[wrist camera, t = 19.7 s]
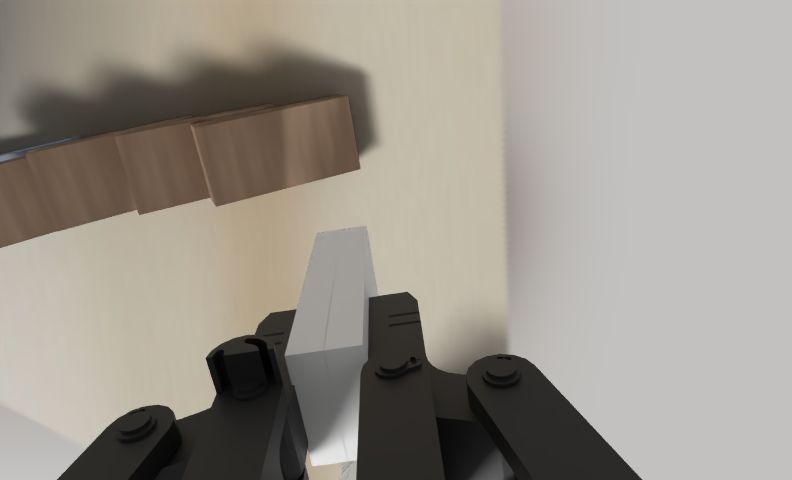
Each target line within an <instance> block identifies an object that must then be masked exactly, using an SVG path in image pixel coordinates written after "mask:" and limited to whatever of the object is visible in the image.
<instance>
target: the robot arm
mask: <svg viewBox="0 0 792 480" xmlns="http://www.w3.org/2000/svg"><path fill="white" fill-rule="evenodd" d="M206 361H207V364H208V367H209V370H210V374H211V377H212V380H213V383H214V386H215V389H216V393H217V394H216V397H215V399H214V402H213V404H212V407H211V408H209V409H207V410H204V411H202V412H199V413H196V414H194V415H191V416H188V417H185V418H182V419H179V420H176V418H175V415H174V412H173V411H172V410H171V409H170V408H169V407H167V406H161V405H152V406H145V407H141V408H139V409H135V410H132V411H130V412H128V413H127V414H125V415H123V416H121V417H119V418H118V419H117V420H115V421H114V422H113V423H112V424H111V425H109V426H108V427H107V428H106V429H105V430H104V431H103V432H102V433H101V434H100V435H99V436H98V437H97V438H96V439H95V441H94V442H93V443H92V444H91V445H90V446H89V447H88V448H87V449H86V450H85V451H84V452H83V453H82V454H81V455H80V456H79V457H78V458H77V459H76V460H75V461H74V463H73V464H72V465H71V466H70V467H69V468H68V469H67V470H66V471H65V472H64V473H63V474H62V475H61V476H60V477H59V478H58V479H57V480H309V477H308V473H307V469H306V465H305V462H306V455H307V448H308V451H309V455H310V459H311V463H312V466H319V465H326V464H333V463H340V462H348V461H355V460H357V471H356V480H642V479H641V478H640V477H639V476H638V475H637V474H636V473H635V472H634V471H633V470H632V469H631V467H630V466H629V465H628V464H627V463H626V462H625V461H624V460H623V459H622V458H621V457H620V456H619V455H618V454H617V452H616V451H615V450H614V449H613V448H612V447H611V446H610V445H609V444H608V443H607V442H606V441H605V440H604V439H603V438H602V436H601V435H600V434H599V433H598V432H597V431H596V430H595V429H594V428H593V427H592V426H591V425H590V424H589V423H588V422H587V420H586V419H585V418H584V417H583V416H582V415H581V414H580V413H579V412H578V411H577V410H576V409H575V408H574V407H573V406H572V405H571V404H570V402H569V401H568V400H567V399H566V398H565V397H564V396H563V395H562V394H561V393H560V392H559V391H558V390H557V389H556V388H555V386H554V385H553V384H552V383H551V382H550V381H549V380H548V379H547V378H546V377H545V376H544V375H543V374H542V373H541V371H540V370H539V369H538V368H537V367H536V366H535V365H534V364H532V363H531V362H529V361H528V360H527V359H525V358H521V357H518V356H515V355H505V354H498V355H492V356H486V357H484V358H482V359H480V360H477V361H475V362H474V363H473V364H472V365H471V366H470V367H469V368H468V371H467V374H466V375H462V374H453V373H447V372H444V371H441V370H439V369H437V368H435V367H434V366H432V365H431V364H430V362H429V361H428V360H427V357H426V353H425V346H424V340H423V334H422V327H421V321H420V314H419V308H418V302H417V300H416V299H415V298H414V297H413V296H412V295H411V294H410V293H408V292H403V293H396V294H389V295H383V296H378V291H377V285H376V279H375V273H374V268H373V262H372V256H371V250H370V244H369V238H368V233H367V227H366V226H362V227H356V228H349V229H342V230H335V231H328V232H321V233H317V235H316V238H315V242H314V246H313V250H312V254H311V257H310V261H309V265H308V269H307V273H306V276H305V280H304V284H303V288H302V291H301V295H300V299H299V303H298V307H297V309H296V310H289V311H282V312H275V313H270V314H269V315H268V316H267V317H266V318H265V319H264V320H263V321H262V322H261V323H260V324H259V325H258V328H257V330H256V333H255V335H246V336H241V337H237V338H234V339H231V340H229V341H227V342H224V343H222V344H221V345H219V346H218V347H216V348H215V349H213V350H212V351H211V352H210V353H209V355H208V356H207V357H206Z"/></svg>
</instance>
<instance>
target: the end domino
mask: <svg viewBox="0 0 792 480" xmlns="http://www.w3.org/2000/svg"><path fill="white" fill-rule="evenodd" d="M191 129H192V132H193V136H194V139H195V143H196V147H197V150H198V154H199V157H200V161H201V164H202V168H203V171H204V175H205V179H206V182H207V186H208V189H209V193H210V196H211V200H212V201H213V203H214V204H215V206H216V207H217V206H220V205H224V204H228V203H232V202H236V201H240V200H243V199H247V198H251V197H255V196H259V195H263V194H266V193H270V192H274V191H278V190H282V189H286V188H289V187H293V186H297V185H301V184H305V183H309V182H312V181H316V180H320V179H324V178H328V177H332V176H335V175H339V174H343V173H347V172H351V171H355V170H358V169H360V163H359V157H358V151H357V146H356V140H355V134H354V128H353V122H352V117H351V111H350V105H349V99H348V96H344V95H333V96H328V97H323V98H318V99H313V100H308V101H304V102H299V103H294V104H289V105H284V106H279V107H274V108H269V109H265V110H260V111H255V112H250V113H245V114H240V115H235V116H231V117H226V118H221V119H216V120H211V121H206V122H201V123H196V124H192V125H191Z"/></svg>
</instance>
